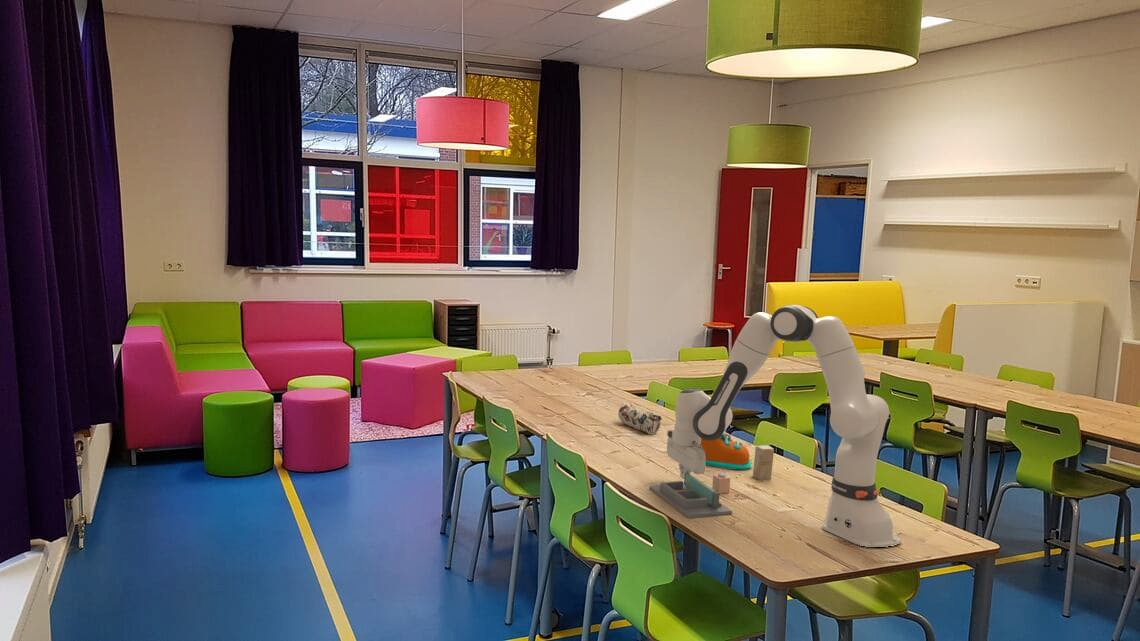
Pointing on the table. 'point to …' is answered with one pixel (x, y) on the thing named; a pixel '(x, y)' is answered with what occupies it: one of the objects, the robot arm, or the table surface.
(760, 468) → the box
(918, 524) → the table surface
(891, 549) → the table surface
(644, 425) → the pencil case
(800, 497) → the table surface
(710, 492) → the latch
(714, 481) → the peach button block
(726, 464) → the toy shoe
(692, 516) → the housing
